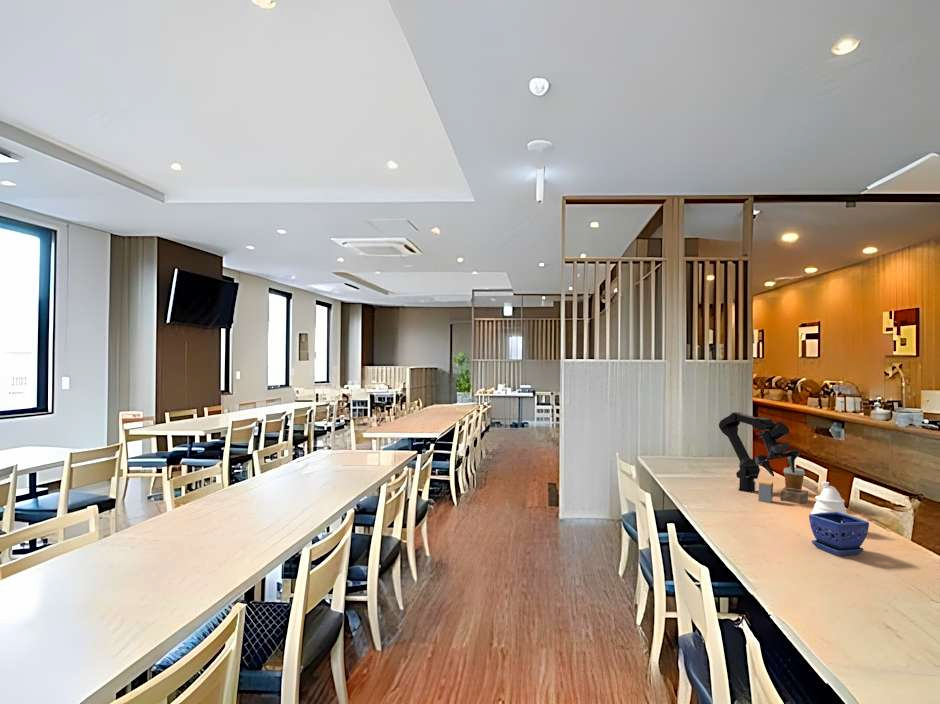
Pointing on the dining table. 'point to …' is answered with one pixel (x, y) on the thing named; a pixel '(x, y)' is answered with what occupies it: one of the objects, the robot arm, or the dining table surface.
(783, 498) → the socket block
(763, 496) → the steel peg
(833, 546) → the flower pot
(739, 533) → the dining table surface
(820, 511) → the honey pot
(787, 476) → the disposable coffee cup
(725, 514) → the dining table surface
